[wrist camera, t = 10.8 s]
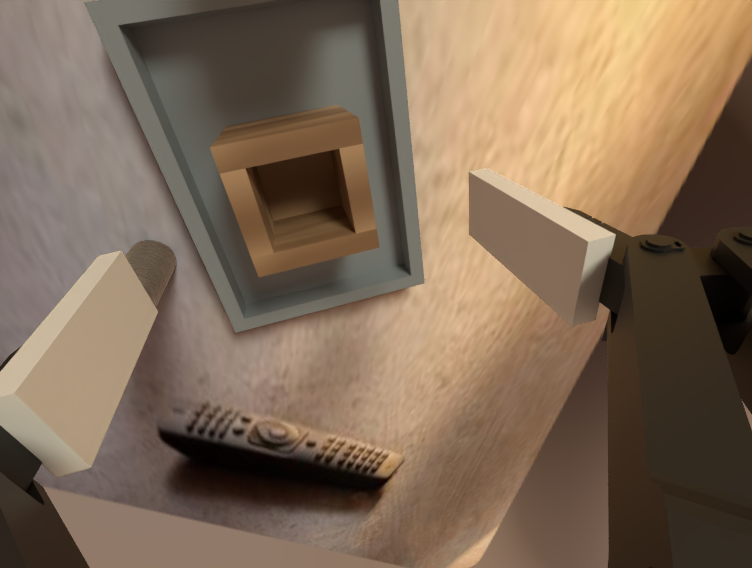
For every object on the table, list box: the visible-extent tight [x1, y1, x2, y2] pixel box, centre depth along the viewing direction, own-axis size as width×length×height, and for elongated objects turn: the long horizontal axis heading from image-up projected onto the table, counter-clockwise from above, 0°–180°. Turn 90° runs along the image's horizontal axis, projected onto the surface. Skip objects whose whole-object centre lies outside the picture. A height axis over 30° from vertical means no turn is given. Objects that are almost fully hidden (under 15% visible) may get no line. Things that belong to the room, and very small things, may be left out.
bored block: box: [210, 105, 380, 277], centre depth 22 cm, size 7×7×7 cm
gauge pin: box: [125, 240, 176, 307], centre depth 21 cm, size 3×3×14 cm
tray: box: [84, 0, 424, 333], centre depth 25 cm, size 20×15×3 cm
